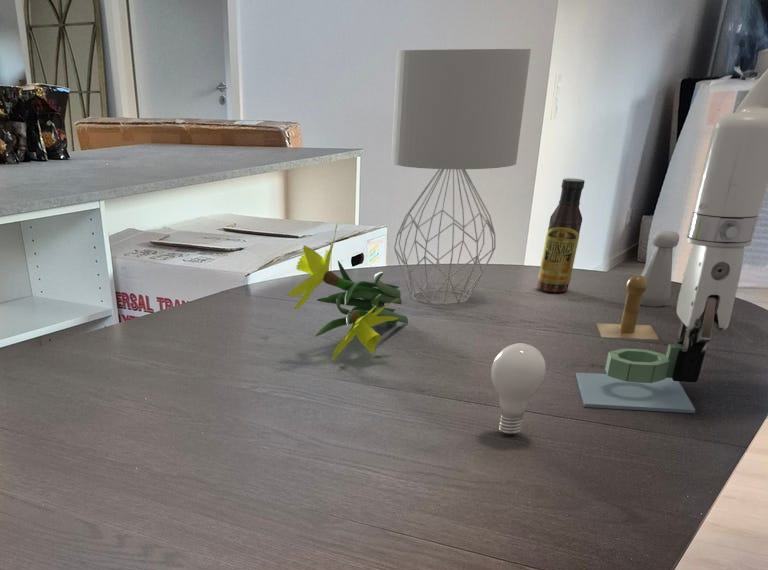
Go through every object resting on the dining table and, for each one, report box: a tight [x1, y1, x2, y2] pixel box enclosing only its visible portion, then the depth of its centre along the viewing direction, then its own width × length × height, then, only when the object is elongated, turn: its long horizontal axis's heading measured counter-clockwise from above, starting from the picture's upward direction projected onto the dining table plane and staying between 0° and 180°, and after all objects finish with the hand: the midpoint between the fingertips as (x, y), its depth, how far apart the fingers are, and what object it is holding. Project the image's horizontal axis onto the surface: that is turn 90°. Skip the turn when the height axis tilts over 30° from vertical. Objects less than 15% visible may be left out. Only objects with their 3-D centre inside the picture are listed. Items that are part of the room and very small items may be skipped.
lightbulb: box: [490, 342, 547, 437], centre depth 102 cm, size 6×6×11 cm
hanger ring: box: [604, 343, 683, 383], centre depth 115 cm, size 11×8×4 cm, turn 79°
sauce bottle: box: [536, 177, 585, 294], centre depth 165 cm, size 6×6×20 cm
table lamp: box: [390, 48, 532, 305], centre depth 155 cm, size 22×22×40 cm
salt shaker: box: [640, 230, 680, 308], centre depth 155 cm, size 6×6×13 cm
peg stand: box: [596, 274, 660, 341], centre depth 140 cm, size 9×9×10 cm
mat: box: [575, 372, 696, 414], centre depth 118 cm, size 14×14×1 cm
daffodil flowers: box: [286, 223, 409, 362], centre depth 135 cm, size 17×15×35 cm
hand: (682, 377), depth 115 cm, fingers closed on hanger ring
